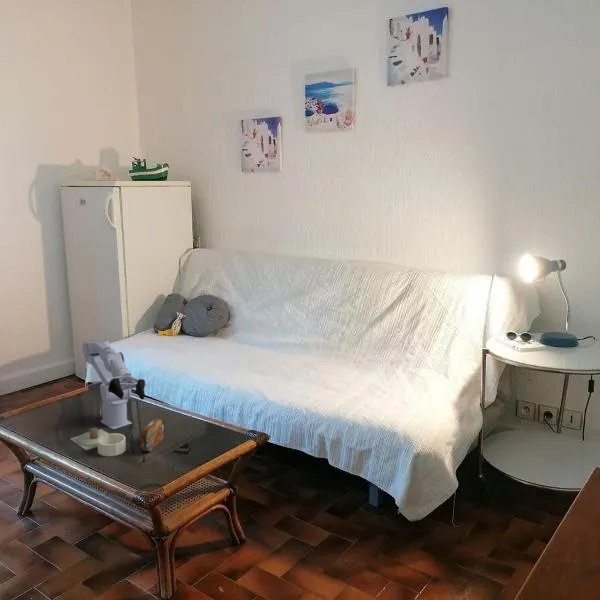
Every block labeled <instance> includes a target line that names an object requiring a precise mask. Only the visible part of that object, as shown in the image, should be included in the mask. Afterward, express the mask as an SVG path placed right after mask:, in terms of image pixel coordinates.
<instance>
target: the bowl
mask: <svg viewBox="0 0 600 600" xmlns="http://www.w3.org/2000/svg"><path fill="white" fill-rule="evenodd" d="M126 442H127V441H126V436H125V435H124V434H122V433H117V432H116V433H114V432H113V433H112V432H111V433H109V434H106V435H103V436H101V437H100V438H98V447H97V454H99V455H101V456H104V457H115V456H119V455H121V454H123V453H125V452H126V450H127V448H126V447H127V446H126V445H127V444H126Z"/></svg>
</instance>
